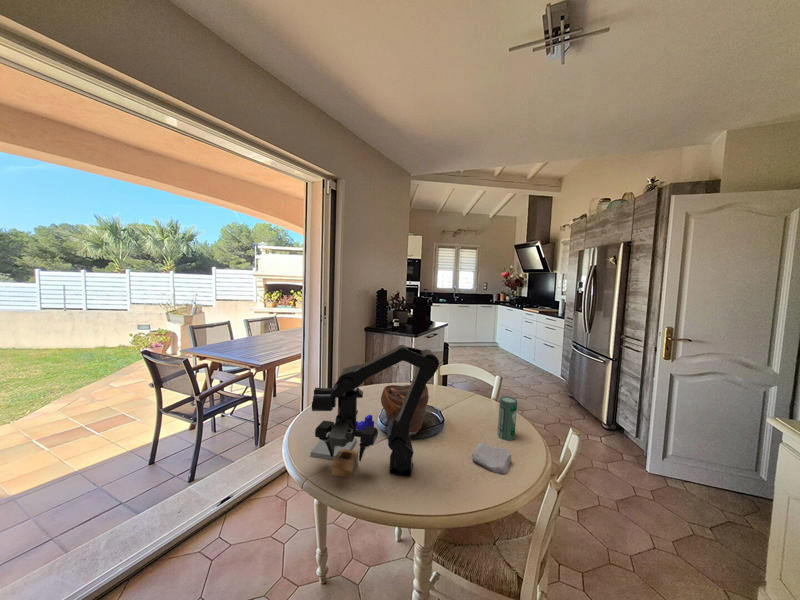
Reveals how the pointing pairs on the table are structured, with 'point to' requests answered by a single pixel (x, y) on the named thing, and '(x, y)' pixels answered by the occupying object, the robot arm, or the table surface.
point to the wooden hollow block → (345, 463)
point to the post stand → (323, 451)
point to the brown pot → (394, 401)
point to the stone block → (492, 458)
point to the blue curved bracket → (365, 423)
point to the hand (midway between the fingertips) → (346, 458)
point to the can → (507, 418)
